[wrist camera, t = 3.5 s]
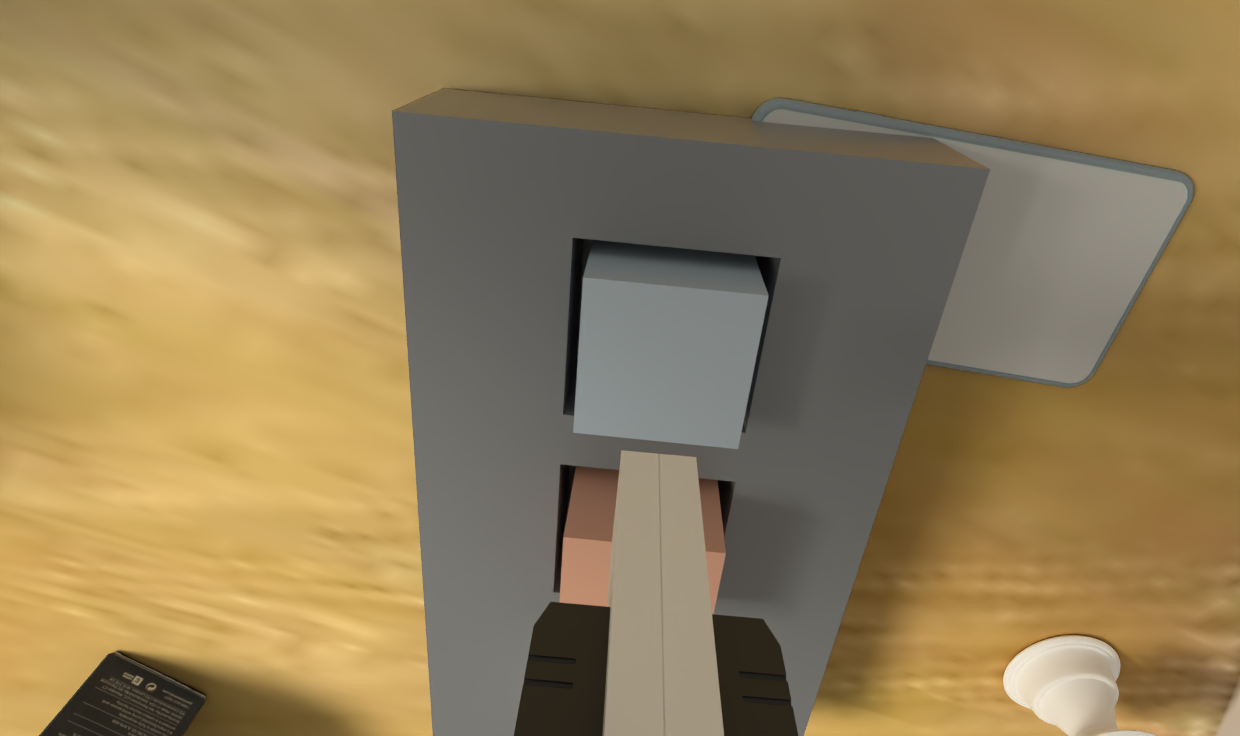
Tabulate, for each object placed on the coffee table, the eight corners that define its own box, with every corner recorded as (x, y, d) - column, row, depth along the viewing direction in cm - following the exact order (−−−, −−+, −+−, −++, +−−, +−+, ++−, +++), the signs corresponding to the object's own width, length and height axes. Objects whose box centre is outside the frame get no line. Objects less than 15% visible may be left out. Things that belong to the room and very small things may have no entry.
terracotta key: (569, 565, 27) (556, 649, 24) (577, 460, 25) (563, 536, 22) (697, 577, 27) (703, 663, 24) (716, 474, 25) (725, 553, 22)
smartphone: (1087, 393, 27) (701, 329, 26) (1073, 381, 28) (700, 319, 27) (1209, 176, 23) (759, 94, 22) (1189, 169, 24) (755, 90, 23)
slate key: (585, 369, 25) (573, 432, 21) (595, 232, 22) (583, 277, 19) (726, 383, 25) (738, 449, 21) (751, 247, 22) (768, 295, 19)
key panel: (461, 664, 36) (434, 756, 32) (442, 87, 23) (392, 111, 19) (769, 695, 36) (784, 792, 32) (927, 135, 23) (990, 169, 19)
